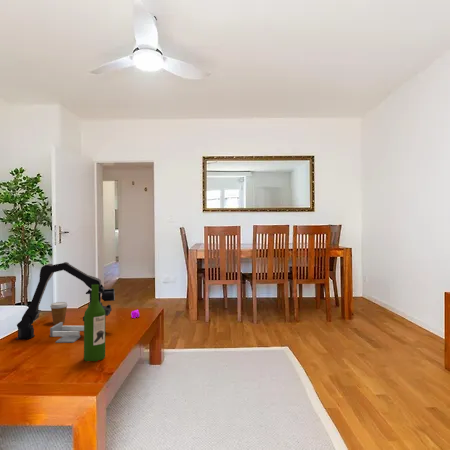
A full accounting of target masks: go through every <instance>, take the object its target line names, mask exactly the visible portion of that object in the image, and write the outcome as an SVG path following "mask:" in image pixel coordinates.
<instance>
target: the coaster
mask: <svg viewBox="0 0 450 450" xmlns="http://www.w3.org/2000/svg"><path fill="white" fill-rule="evenodd" d="M81 338H82V335H80V336H63V337H60V338H59V339H57V340H56V341H55V343H56V344H57V343H59V344H60V343H62V344H63V343H67V344H69V343H75V342H76V341H77V340H79V339H81Z"/></svg>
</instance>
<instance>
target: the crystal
mask: <svg viewBox="0 0 450 450" xmlns="http://www.w3.org/2000/svg"><path fill="white" fill-rule="evenodd" d="M130 316H131V319H132V318H134V319H137V318H139V317H140V312H139V309H135V310H132V311H131V313H130ZM136 317H137V318H136Z"/></svg>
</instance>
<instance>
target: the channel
mask: <svg viewBox="0 0 450 450" xmlns="http://www.w3.org/2000/svg"><path fill="white" fill-rule="evenodd" d="M63 324H64V323H63V322H60V323H58V324H56V325H55V324H54V325H53V326H52V327H50V328H49V330H50V331H49V337H56V338H57V337H60V338H62V337H63V336H81V334H80V333H81V332H84V325H63Z"/></svg>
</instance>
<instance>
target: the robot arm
mask: <svg viewBox="0 0 450 450" xmlns="http://www.w3.org/2000/svg"><path fill="white" fill-rule="evenodd" d="M61 271H64V272H66V273H68V274H70V275H71V276H73V277H75V278H76V279H78V280H80V281H81V282H83V283H84V284H85V285H86V286H87V287H88V288H89V289H88V290H87V291H86V292H85V294H86V295H89V303H88V304H87V307H88V306H89V305H90V303H91V291H92V286H91V285H93V284H98V285H99V303H100V304H101V306H102V307H103V308H104V310H105V314H106V315H105V317H107V316H109V315H110V314H111V312H112V311H113V310H112V309H113V308H112V306H111V304H107V305H103V303H102V301H103V302H114V301H115V300H116V299H115V298H116V293H115V288H114V287H113V288H111V287H110V288H105V287H104V286H103V284H102V280H101V279H100V278H98V277H95V276H92V275H89V274H87V273H85V272H83V271H82V270H80V269H79V268H76V267H75V266H73V265H72V264H70V263H69V262H68V261H65V262H62V263H56V264H53V263H48V264H47V263H46V264H45V265H42V266H41V268H40V271H39V281H38V283H37V286H36V289H35V291H34V294H33V296H32V299H31V302H30V305H29V306H28V307H27V309H26V310H25V312H24V313H23V315H22V317H21V320H20V321H19V322H17V324H16V326H17V338H15V340H22V341H23V340H31V339H32V338H33V337H35V336H36V335H35V328H34V322H35V321H36V320H38V319H39V318H40V314H41V312H42V310H41V309H39V307H40V304H41V301H42V298H43V296H44V293H45V291H46V288H47V285H48V283H49V281H50V280H51V278H52V276H53V275H54V273H58V272H61ZM101 300H102V301H101ZM82 322H84V316H82Z"/></svg>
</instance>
